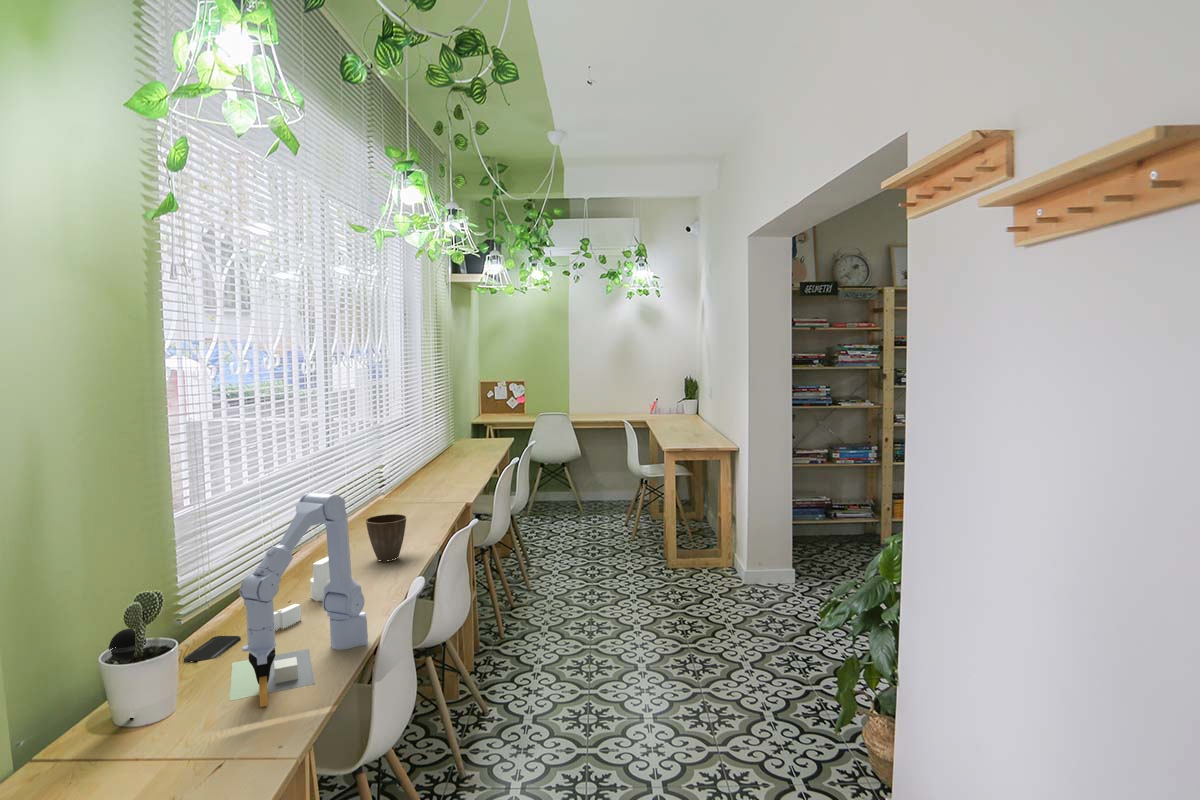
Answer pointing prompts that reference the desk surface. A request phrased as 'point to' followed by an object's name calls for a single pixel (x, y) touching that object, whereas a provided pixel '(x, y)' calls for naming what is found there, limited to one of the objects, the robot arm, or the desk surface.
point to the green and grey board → (247, 683)
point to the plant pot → (386, 535)
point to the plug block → (286, 670)
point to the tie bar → (263, 691)
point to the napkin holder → (287, 616)
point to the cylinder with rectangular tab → (320, 578)
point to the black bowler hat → (123, 645)
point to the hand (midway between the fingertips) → (263, 682)
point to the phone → (212, 648)
